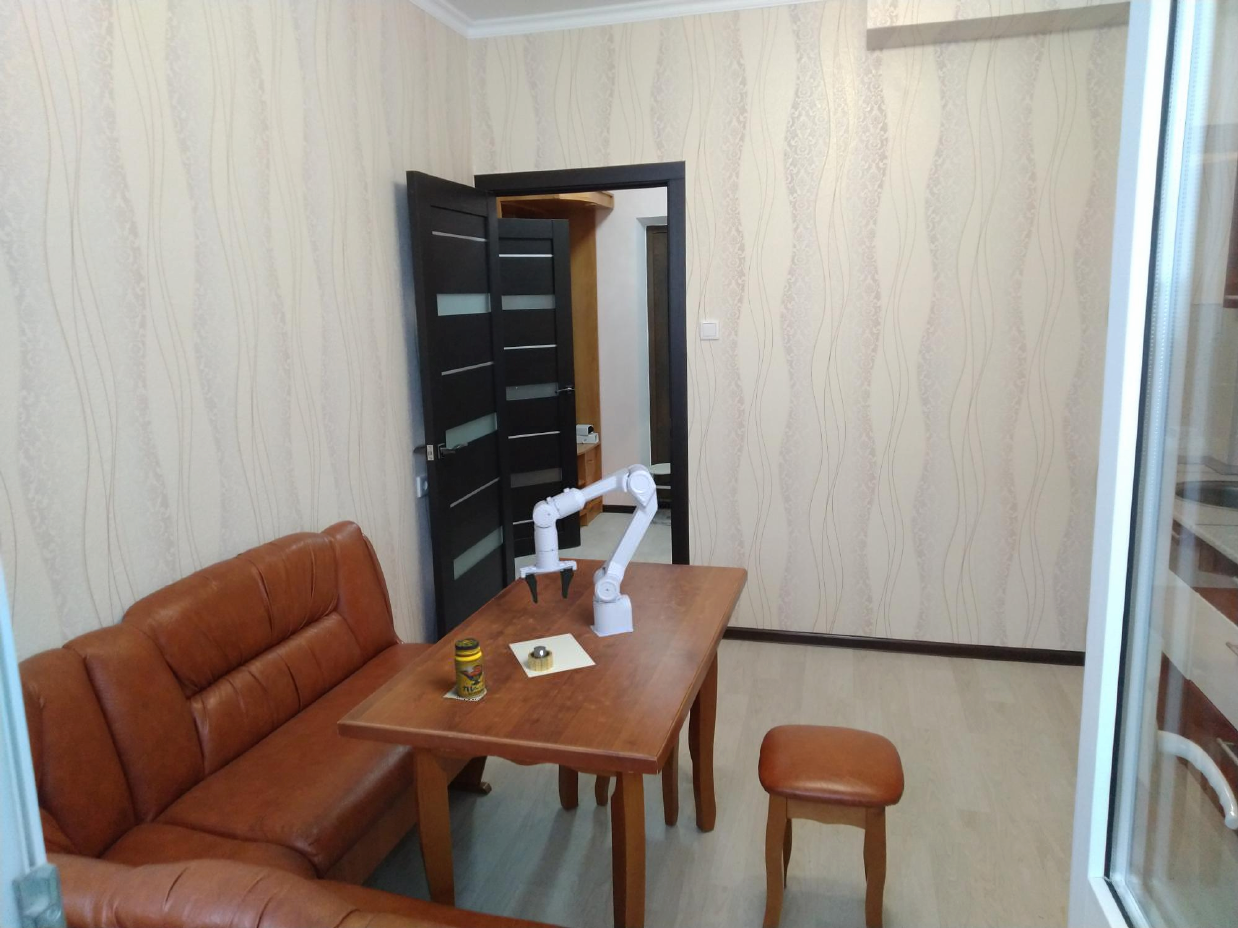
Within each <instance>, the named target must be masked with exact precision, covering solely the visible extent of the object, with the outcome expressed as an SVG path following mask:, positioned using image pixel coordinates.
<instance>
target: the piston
mask: <svg viewBox="0 0 1238 928" xmlns="http://www.w3.org/2000/svg"><path fill="white" fill-rule="evenodd" d="M544 657H546V647H545V646H537V647H535V648H534V658H544Z"/></svg>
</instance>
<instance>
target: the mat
mask: <svg viewBox="0 0 1238 928" xmlns="http://www.w3.org/2000/svg"><path fill="white" fill-rule="evenodd" d="M508 645H509V647H510V649H511V651H512V652H513V654H514V655H515V657H516V659H517V660H518V662H519V663H520V665H521V667H522V668H523V670H524V671H525V673H526V675H527V677H528V678H532V677H538V676H544V675H547V674H549V675H550V674H553V673H557V672H559V673H560V672H563V671H568V670H575V669H579V668H586V667H589V666H594V665H596V663H595V662H594V661H593V659H592V658H591V657H590V655H589V654H588V653H587V652H586V651H585V650H584V649H583V647H582V645H580V644H579V642H578V641H577V640H576V639H575V637H574V636H573V635H572V634H571V633H565V634H558V635H552V636H548V637H544V638H543V637H542V638H538V639H537V638H536V639H532V640H527V641H526V640H525V641H520V642H515V643H510V644H508ZM537 646H545V647H546V650H550V651H551V652H552V653H553V667H552V668H551V669H549V670H546V671H532V670H530V669H529V665H528V654H529V653H530V652H532V651H534V648H535V647H537Z"/></svg>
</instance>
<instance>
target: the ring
mask: <svg viewBox="0 0 1238 928" xmlns="http://www.w3.org/2000/svg"><path fill="white" fill-rule="evenodd" d="M528 665H529V669H530V670H532V671H546V670H549V669H551V668H552V667H553V653H552V652H551V651H550V650H546V657H544V658H534V651H532V652H530V653H529V654H528Z"/></svg>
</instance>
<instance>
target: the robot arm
mask: <svg viewBox="0 0 1238 928" xmlns="http://www.w3.org/2000/svg"><path fill="white" fill-rule="evenodd" d="M627 488H628V490H629V491H630V493H631V494H632V495H633V497H634V498H635V502H636V507H635V510H634V511H633V513H632V514H631V517H630V519H629V521H628V522H627V524H626V527H624V530H623V532H622V533H621V535H620V537H619V539H618V541H617V543H616V545H615V547H614V549H613V550H612V552H611V555H610V556H609V558H608V559H607V560H606V561H605V562H604V564H603V565H602V567H600V568H599V569H598V570H596V572H595V573H594V575H593V578H592V579H593V584H594V594H593V596H592V601H593V602H592V603H593V605H592V606H593V619H594V622H593V623H594V624H593V625H589V628H590V629H591V630H592V632H594V633H595V634H596V636H598V637H606V636H607V637H608V636H612V635H618V634H622V633H623V634H624V633H633V632H634V631H635V630H634V628H633V611H632V610H633V608H632V603H631V599H630V597H629V595H627V594H622V593H621V592H620V587H621V583H622V581H623V579H624V575H625V571H626V568H627V567H628V565H629V563H630V562H631V559H632V558H633V556H634V554H635V552H636V549H637V548H638V546H639V544H640V542H641V541H642V539H643V537H644V535H645V533H646V531H647V529H648V528H649V526H650V524H651V521H652V520H653V519H654V516H655V515H656V512H657V511H658V507H659V506H658V499H657V498H658V497H657V485H656V483H655V481H654V479H653V477H652V475H651V473H650V472H649V469H648V468H647V467H646V466H645V465H643V464H639V463H636V464H635V463H634V464H632V465H630V466H629V467H624V468H622V469H619V470H617V471H615V472H612V473H611V474H609V475H607V476H605V477H603V478H601V479H599V480H597V481H595V482H593V483H591V484H589V485H588V486H585V487H584V488H582V489H578V488H576V487H575V488H574V487H572V488H569V487H567V488H564V489H563V492H561V493H560V494H559V493H558V494H557V495H555V496H553V497H551V496H549V497H547V498H546V500H541V501H539V502H537V503H536V504H535V505H534V507H533V510H532V519H533V522H534V526H533V527H534V547H535V562H536V564H532V565H529V566H525V567H520V568H519V569H518V570H519V571H518V572H519V577H520V578H521V579H522V578H523V579H524V580H525V582H526V584H527V586H528V588H529V590H530V593H531V595H532V600H533V603H534V604H539V598H538V579H536V576H537V575H538V576H539V575H542V574H543V575H544V574H549V573H555V572H559V574H560V575H559V576H560V582H561V596H562V598H563V599H565V600H566V599H567V598H568V593H569V588H570V585H571V583H572V580H573V578H574V575H575V572H574V571H576V570H577V567H578V566H577V561H575V560H564V561H563V560H562V561H560V559H559V540H558V539H559V538H558V531H557V530H558V529H557V527H556V521H557V520H559V519H564V518H565V517H567V516H569V515H572V514H574V513H576V512H579V511H580V510H583V509H584V506H585V504H586V502H589V501H592V500H593V499H595V498H598V497H601V496H603V495H606V494H608V493H610V492H613V491H619V492H623V493H627Z"/></svg>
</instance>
